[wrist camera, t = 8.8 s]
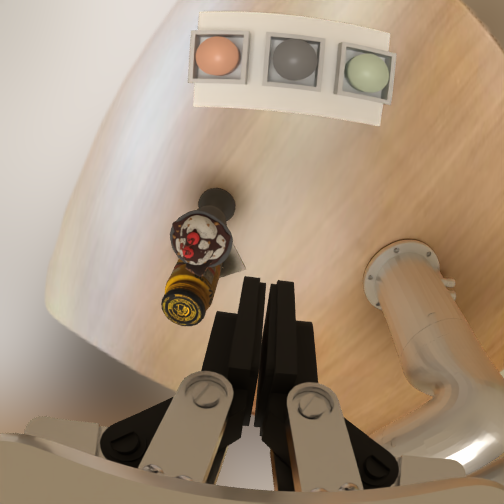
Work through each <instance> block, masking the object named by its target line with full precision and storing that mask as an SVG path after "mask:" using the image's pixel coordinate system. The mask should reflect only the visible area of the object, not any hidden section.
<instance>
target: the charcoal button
mask: <svg viewBox="0 0 504 504" xmlns="http://www.w3.org/2000/svg"><path fill="white" fill-rule="evenodd" d="M317 62H318V59H317V54H316V52H315V50H314V48H313V47H312V46H311V45H310V44H308V43H307V42H305V41H303V40H300V39H289V40H285V41H283V42H281V43H280V44H279V45H278V46H277V47H276V48H275V50H274V53H273V65H274V68H275V70H276V72H277V73H278V74H279V75H280V76H281V77H283V78H285V79H287V80H292V81H297V80H301V79H305V78H307V77H308V76H310V75H311V74H312V73H313V72H314V71H315V69H316V67H317Z"/></svg>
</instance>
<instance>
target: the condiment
mask: <svg viewBox="0 0 504 504" xmlns="http://www.w3.org/2000/svg"><path fill="white" fill-rule="evenodd" d="M222 267H223V268H222ZM242 270H245V267H244V265H243V262H242V261H241V258H240V257H239V255H238V253H237V251H236V249H235V247H234V245H233V244H232V249H231V252H230V254H229V256H228V257H227V259H226V260H225V261H224V262H222V263H221V264H220V265H217V266H214V267H208V269H207V270H206V272H205V273H204V275H203V276H202V277H200V276H198V275H196V274H194V273H192V272H190V271H188V270H187V269H186V263H184V262H183V261H182V260H181V259H179V260H178V262H177V264H176V266H175V267H174V270H173V272H172V274H171V276H170V278H169V280H168V281H167V284H166V287H165V295H164V297H163V299H162V304H161V305H162V310H163V312H164V314H165V315H166V317H167V318H168V319H169V320H171V321H172V322H173V323H176V324H178V325H181V326H193V325H196V324H198V323H200V322H201V320H202V319H203V318H204V316H205V313H206V310H207V309H208V308H209V307H210V305H211V303H212V300H213V297H214V293H215V291H216V287H217V283H218V280H219V278H221V277H224V276H227V275H230V274H233V273H236V272H240V271H242Z"/></svg>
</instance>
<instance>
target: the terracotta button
mask: <svg viewBox="0 0 504 504" xmlns="http://www.w3.org/2000/svg"><path fill="white" fill-rule="evenodd" d="M240 59H241V55H240V51H239V49H238V48H237V46H236V45H235V44H234V43H233V42H231V41H230V40H229V39H227V38H224V37H218V36H217V37H211V38H208V39H206V40H205V41H203V42H202V43H201V44H200V45H199V47H198V49H197V51H196V62H197V65H198V66H199V68H200V69H201V70H202V71H203V72H205V73H207V74H210V75H216V76H225V75H228V74H230V73H232V72H233V71H235V70H236V68H237V67H238V66H239V63H240Z"/></svg>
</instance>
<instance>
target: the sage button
mask: <svg viewBox="0 0 504 504" xmlns="http://www.w3.org/2000/svg"><path fill="white" fill-rule="evenodd" d="M344 76H345V79H346V81H347V83H348V84H349V85H350V86H351V87H352V88H354V89H355V90H358V91H361V92H378V91H380V90H382V89H383V88H384V87H385V86H386V84H387V83H388V80H389V71H388V68H387V65H386V64H385V62H384V61H383V60H382V59H381V58H379V57H378V56H376V55H373V54H367V53H366V54H361V55H358V56H355V57H353V58H351V59H350V60H349V61H348V62H347V63H346V65H345V69H344Z"/></svg>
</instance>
